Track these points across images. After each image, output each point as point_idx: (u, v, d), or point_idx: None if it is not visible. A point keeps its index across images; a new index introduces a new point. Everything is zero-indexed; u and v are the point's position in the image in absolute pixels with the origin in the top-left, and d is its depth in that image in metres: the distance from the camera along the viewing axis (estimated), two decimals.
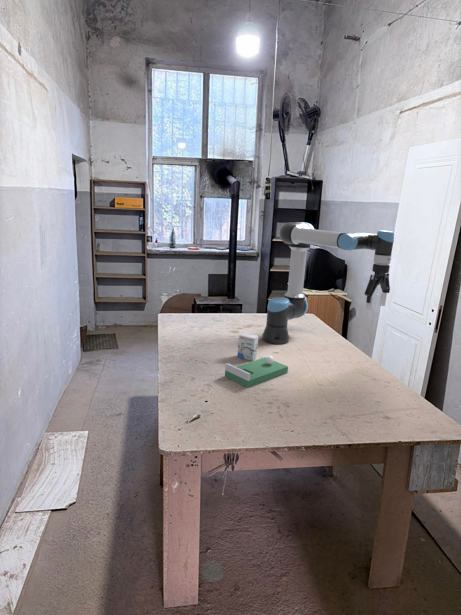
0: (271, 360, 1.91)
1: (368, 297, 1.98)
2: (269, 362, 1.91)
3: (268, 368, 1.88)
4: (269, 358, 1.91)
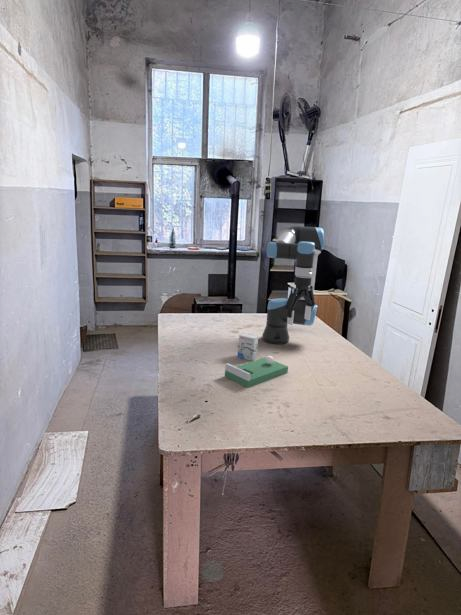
0: (271, 360, 1.91)
1: (289, 311, 1.88)
2: (269, 362, 1.91)
3: (268, 368, 1.88)
4: (269, 358, 1.91)
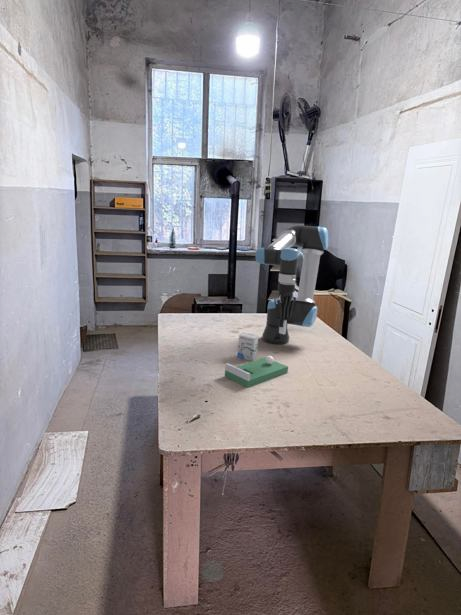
0: (271, 360, 1.91)
1: (280, 321, 1.92)
2: (269, 362, 1.91)
3: (268, 368, 1.88)
4: (269, 358, 1.91)
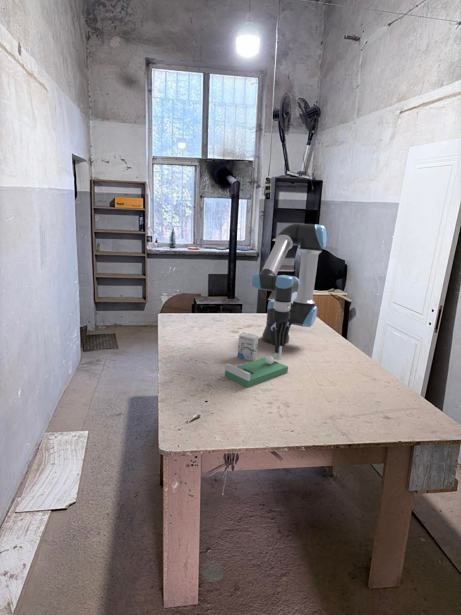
0: (271, 360, 1.91)
1: (276, 347, 1.94)
2: (269, 362, 1.91)
3: (268, 368, 1.88)
4: (269, 358, 1.91)
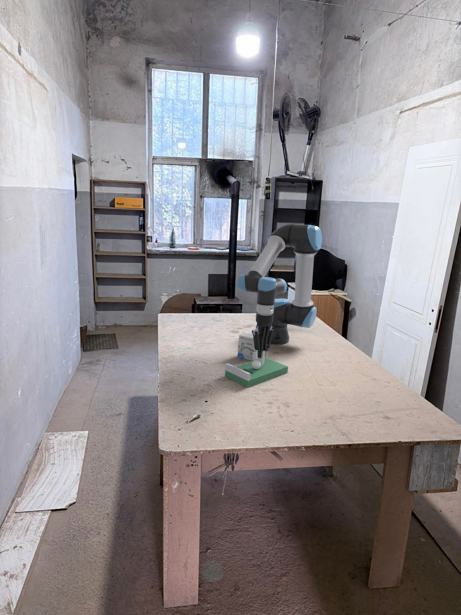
0: (260, 364, 1.86)
1: (259, 352, 1.86)
2: (258, 362, 1.86)
3: (268, 368, 1.88)
4: None
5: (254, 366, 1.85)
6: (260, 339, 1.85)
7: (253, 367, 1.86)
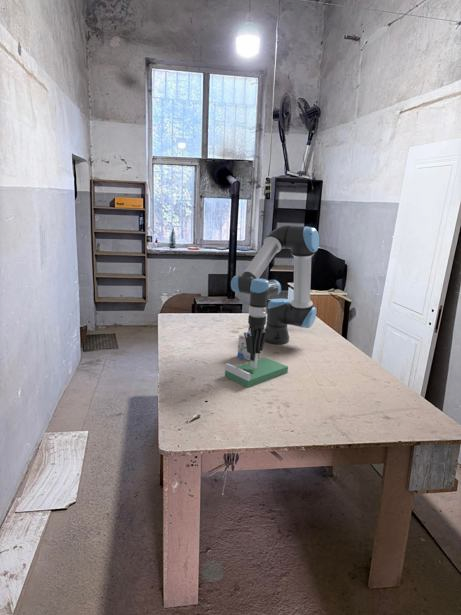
0: None
1: (251, 355, 1.83)
2: None
3: (268, 368, 1.88)
4: None
5: None
6: (253, 341, 1.82)
7: None
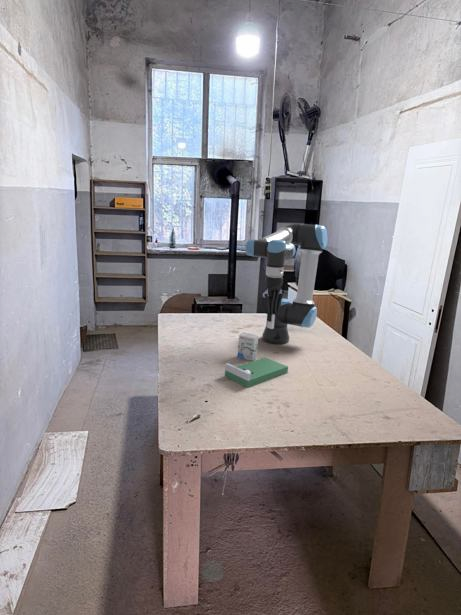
0: None
1: (268, 315, 1.86)
2: None
3: (268, 368, 1.88)
4: None
5: None
6: (270, 302, 1.84)
7: None
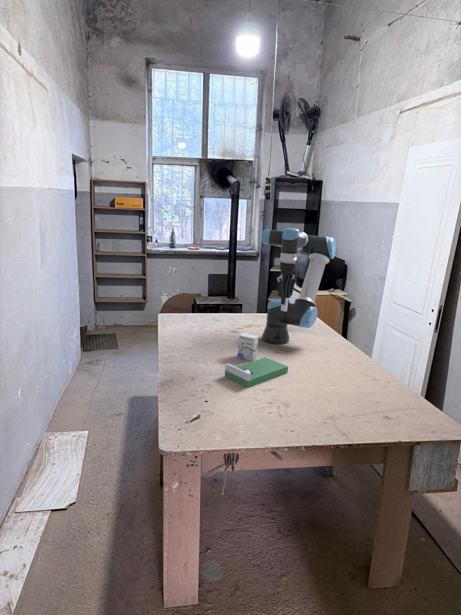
0: None
1: (282, 299, 2.01)
2: None
3: (268, 368, 1.88)
4: None
5: None
6: (284, 286, 1.99)
7: (248, 370, 1.84)
